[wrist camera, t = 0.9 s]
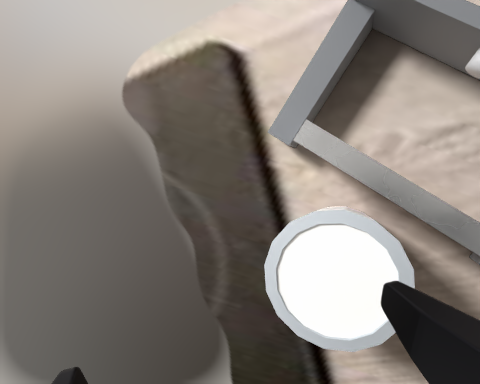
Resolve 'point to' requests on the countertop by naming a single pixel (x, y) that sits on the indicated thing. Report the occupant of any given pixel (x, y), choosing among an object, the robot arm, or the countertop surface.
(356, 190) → the countertop surface
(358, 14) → the frame
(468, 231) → the flat metal bar
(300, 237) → the white tapered cup
